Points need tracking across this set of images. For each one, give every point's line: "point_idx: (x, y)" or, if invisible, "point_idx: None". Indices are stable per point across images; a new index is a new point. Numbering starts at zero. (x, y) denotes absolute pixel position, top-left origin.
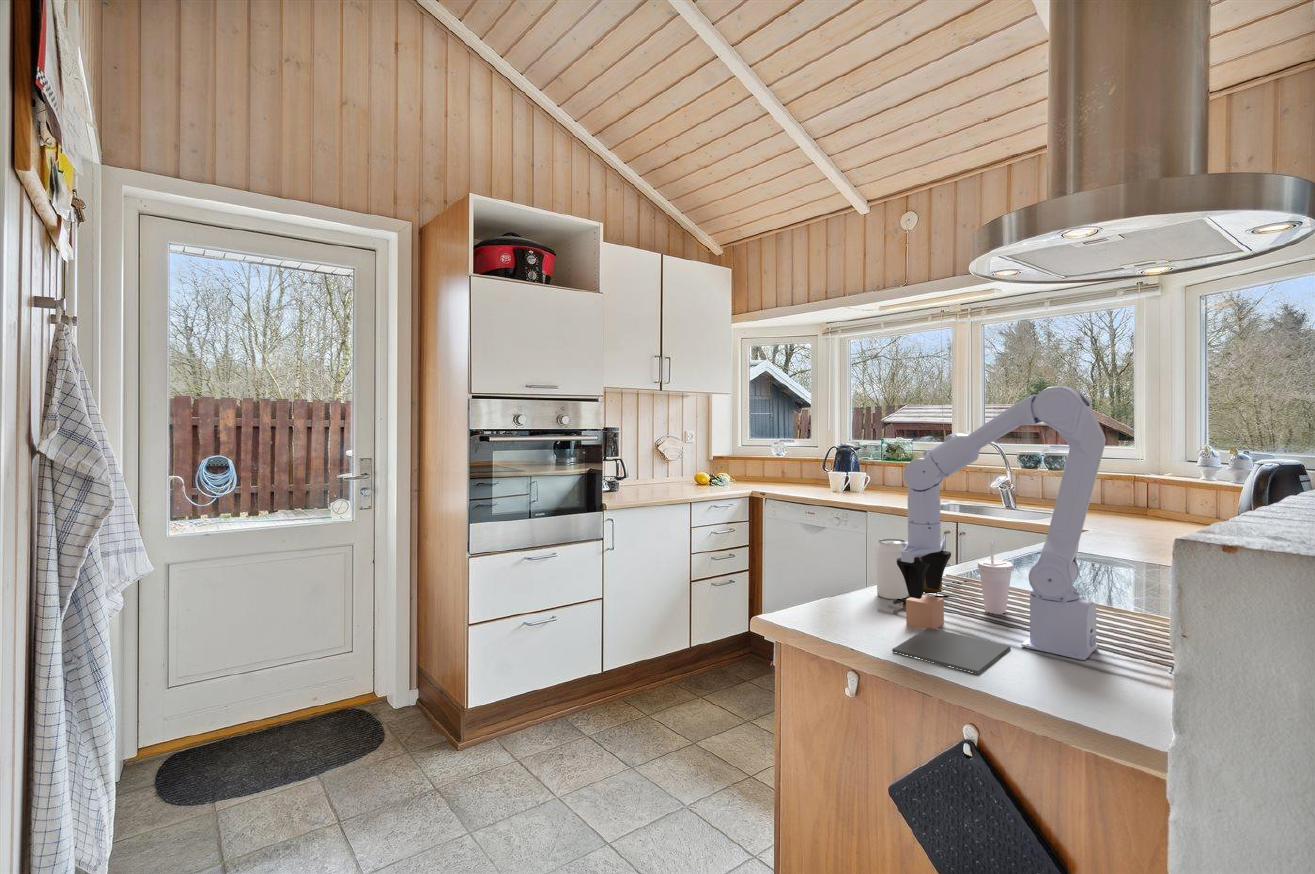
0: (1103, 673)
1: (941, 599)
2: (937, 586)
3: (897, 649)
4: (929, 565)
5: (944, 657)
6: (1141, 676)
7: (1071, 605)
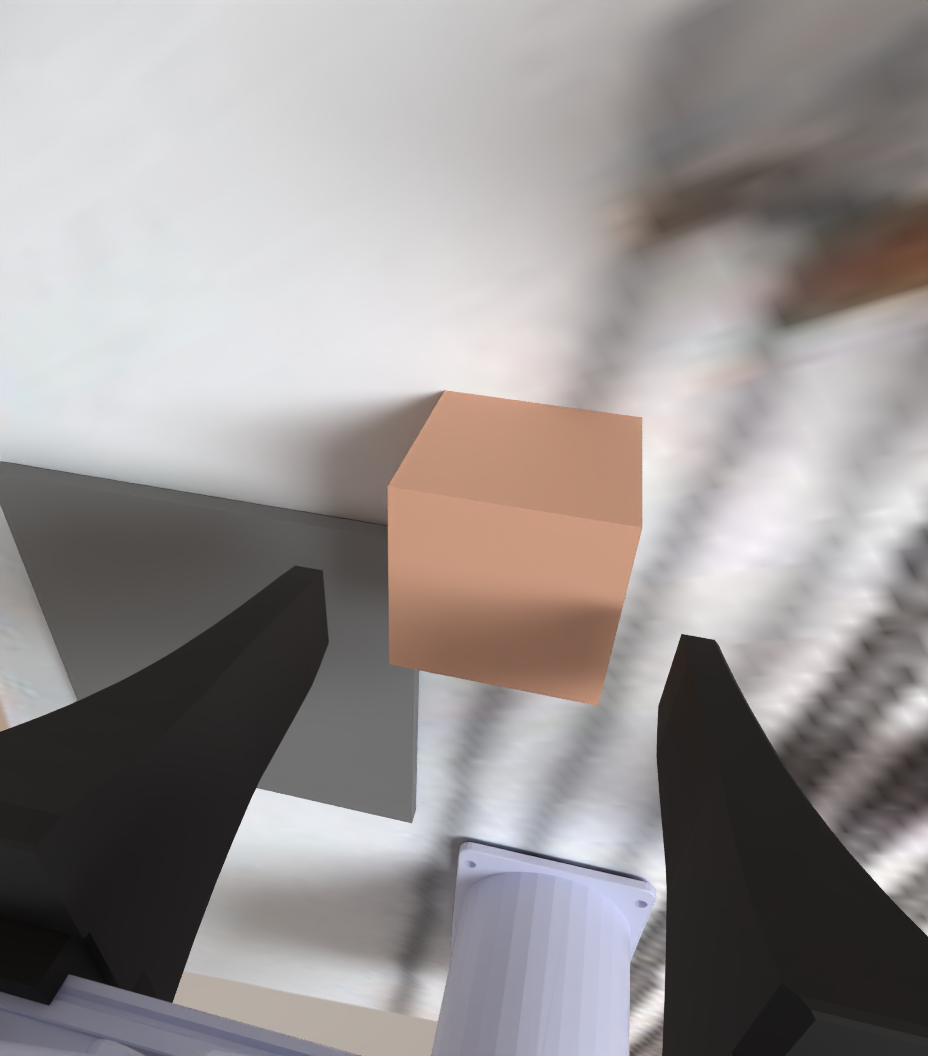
0: (391, 957)
1: (558, 696)
2: (661, 728)
3: (4, 492)
4: (702, 875)
5: (107, 661)
6: (433, 1003)
7: None
